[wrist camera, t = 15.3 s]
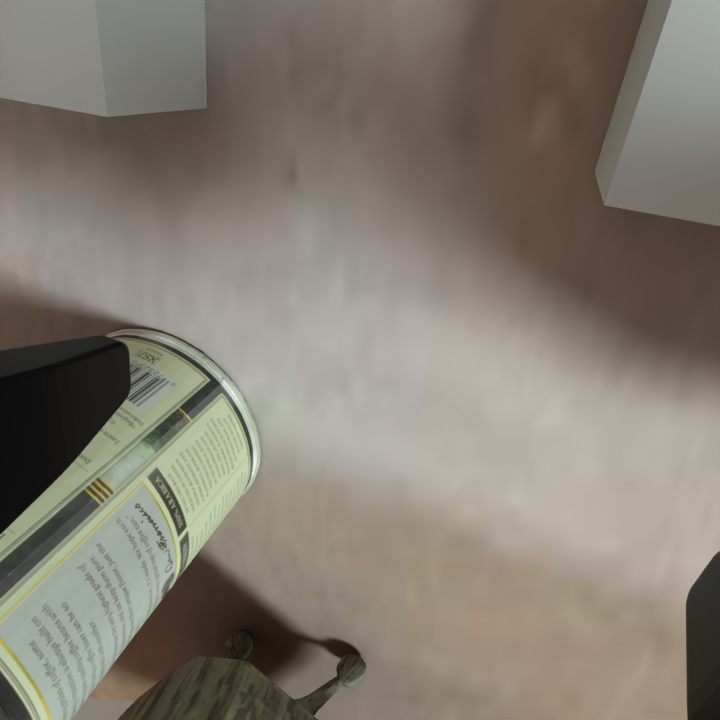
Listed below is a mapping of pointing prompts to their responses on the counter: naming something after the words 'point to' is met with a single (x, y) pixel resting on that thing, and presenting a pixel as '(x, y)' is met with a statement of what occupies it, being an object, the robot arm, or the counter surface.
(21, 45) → the grey block left
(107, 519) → the coffee can
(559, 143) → the counter surface
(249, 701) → the tabletop clock
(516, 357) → the counter surface
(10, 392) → the robot arm
